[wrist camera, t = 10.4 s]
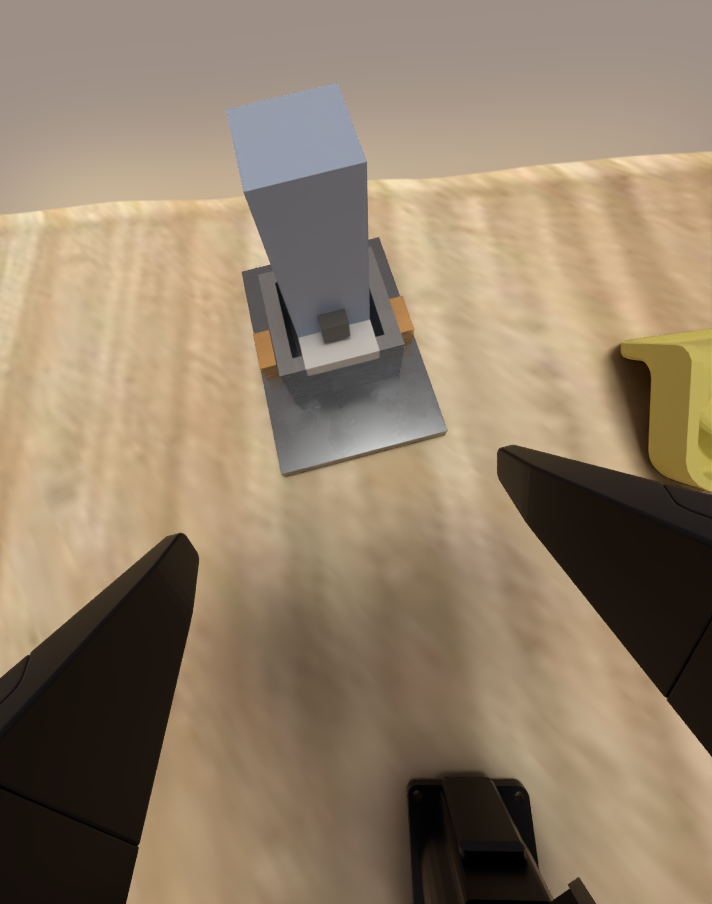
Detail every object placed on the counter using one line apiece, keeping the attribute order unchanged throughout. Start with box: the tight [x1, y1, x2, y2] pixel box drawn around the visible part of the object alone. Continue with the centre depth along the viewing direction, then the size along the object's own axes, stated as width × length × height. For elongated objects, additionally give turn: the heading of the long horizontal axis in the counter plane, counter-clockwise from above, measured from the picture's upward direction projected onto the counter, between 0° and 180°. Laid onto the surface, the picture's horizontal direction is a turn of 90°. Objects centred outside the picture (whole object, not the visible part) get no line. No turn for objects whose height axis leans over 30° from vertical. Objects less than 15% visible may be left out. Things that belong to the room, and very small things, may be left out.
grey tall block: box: [226, 83, 380, 376], centre depth 18 cm, size 9×4×13 cm, turn 14°
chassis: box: [242, 237, 448, 477], centre depth 23 cm, size 18×12×5 cm, turn 14°
